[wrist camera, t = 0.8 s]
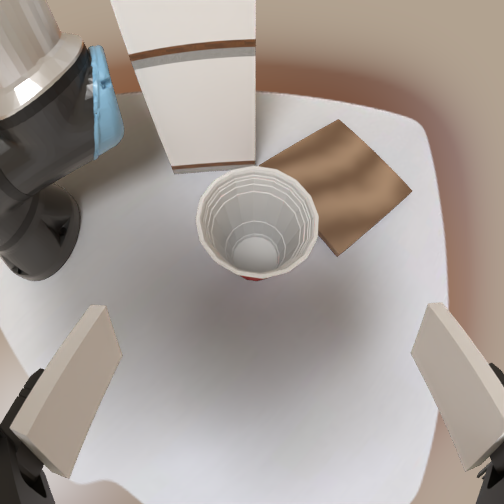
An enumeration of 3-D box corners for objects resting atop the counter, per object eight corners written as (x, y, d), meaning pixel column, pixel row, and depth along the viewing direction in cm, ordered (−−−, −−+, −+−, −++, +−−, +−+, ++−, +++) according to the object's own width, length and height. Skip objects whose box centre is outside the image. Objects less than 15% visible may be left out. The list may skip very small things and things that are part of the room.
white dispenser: (251, 115, 45) (248, -102, 12) (255, 168, 41) (255, -101, 8) (180, 120, 45) (129, -85, 11) (174, 174, 41) (89, -70, 8)
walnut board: (258, 169, 41) (258, 165, 40) (337, 123, 44) (338, 119, 43) (337, 256, 37) (339, 254, 36) (409, 194, 40) (412, 190, 39)
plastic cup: (305, 298, 36) (329, 272, 24) (214, 304, 35) (195, 281, 24) (296, 215, 39) (311, 161, 28) (212, 220, 39) (196, 167, 27)
